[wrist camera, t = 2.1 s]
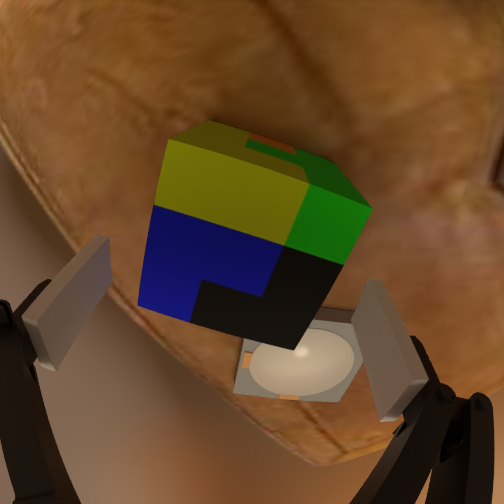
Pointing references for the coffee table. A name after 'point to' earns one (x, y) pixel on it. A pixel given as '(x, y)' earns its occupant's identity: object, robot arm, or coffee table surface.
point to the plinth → (303, 362)
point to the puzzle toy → (247, 234)
